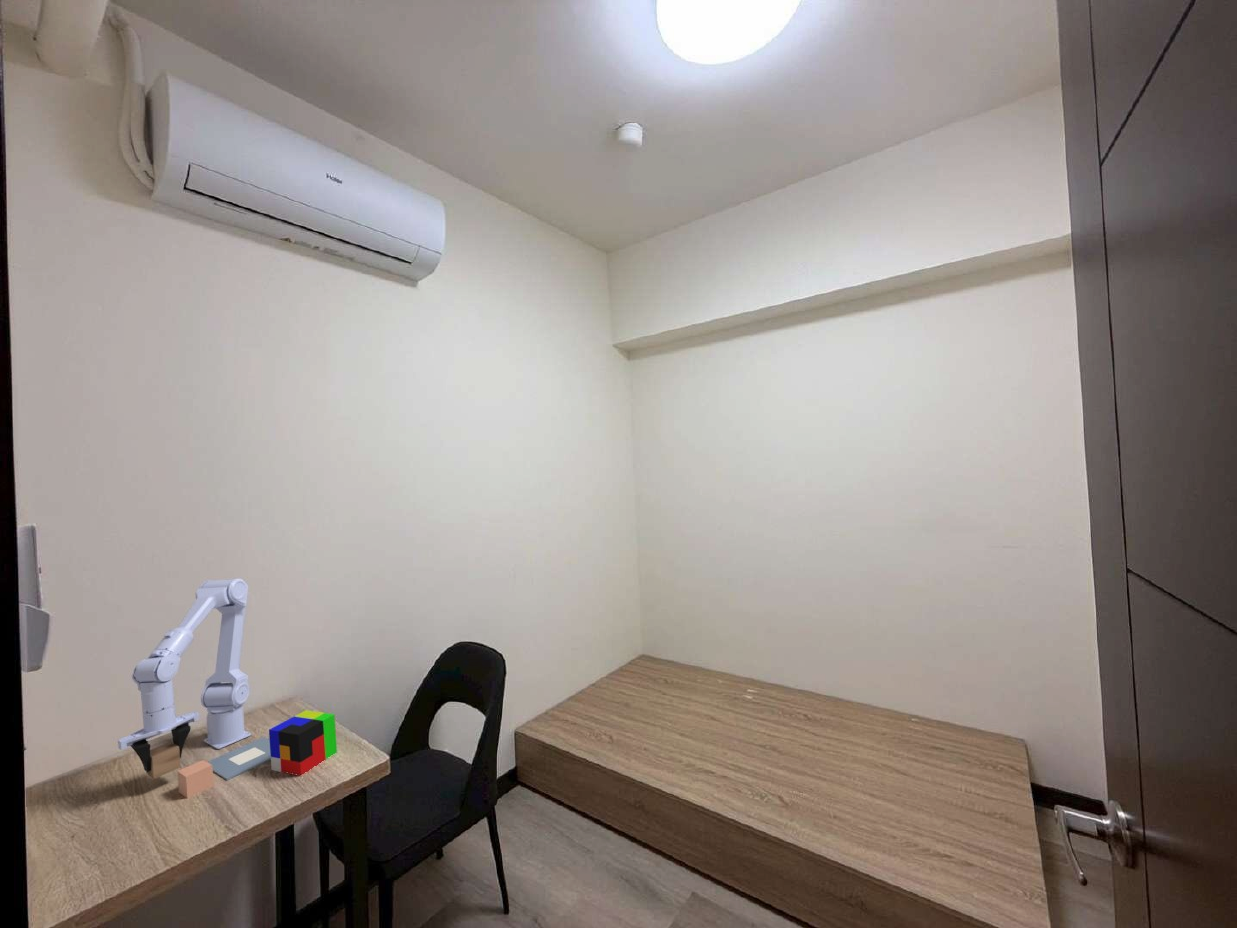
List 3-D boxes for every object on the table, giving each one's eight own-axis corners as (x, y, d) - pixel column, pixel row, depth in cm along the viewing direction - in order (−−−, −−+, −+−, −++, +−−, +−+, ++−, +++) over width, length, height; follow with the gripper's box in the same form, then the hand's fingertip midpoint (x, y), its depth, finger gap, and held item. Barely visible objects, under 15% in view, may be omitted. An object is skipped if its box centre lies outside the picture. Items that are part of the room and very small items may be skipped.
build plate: (202, 765, 131) (202, 763, 131) (264, 738, 143) (264, 736, 143) (227, 780, 123) (227, 778, 123) (290, 750, 135) (289, 748, 135)
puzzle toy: (271, 770, 127) (268, 729, 127) (308, 747, 136) (305, 710, 136) (301, 776, 123) (298, 734, 123) (337, 752, 133) (334, 714, 133)
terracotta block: (178, 792, 120) (177, 770, 120) (205, 780, 124) (203, 759, 124) (187, 798, 117) (185, 776, 117) (213, 786, 122) (212, 764, 122)
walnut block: (146, 772, 123) (144, 752, 123) (172, 761, 127) (171, 741, 127) (153, 778, 120) (152, 757, 120) (180, 767, 124) (179, 746, 124)
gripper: (123, 725, 115) (128, 785, 115) (202, 697, 127) (206, 752, 128) (113, 718, 119) (117, 777, 119) (190, 692, 131) (194, 745, 131)
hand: (163, 763), depth 124 cm, fingers closed on walnut block, 5 cm apart
